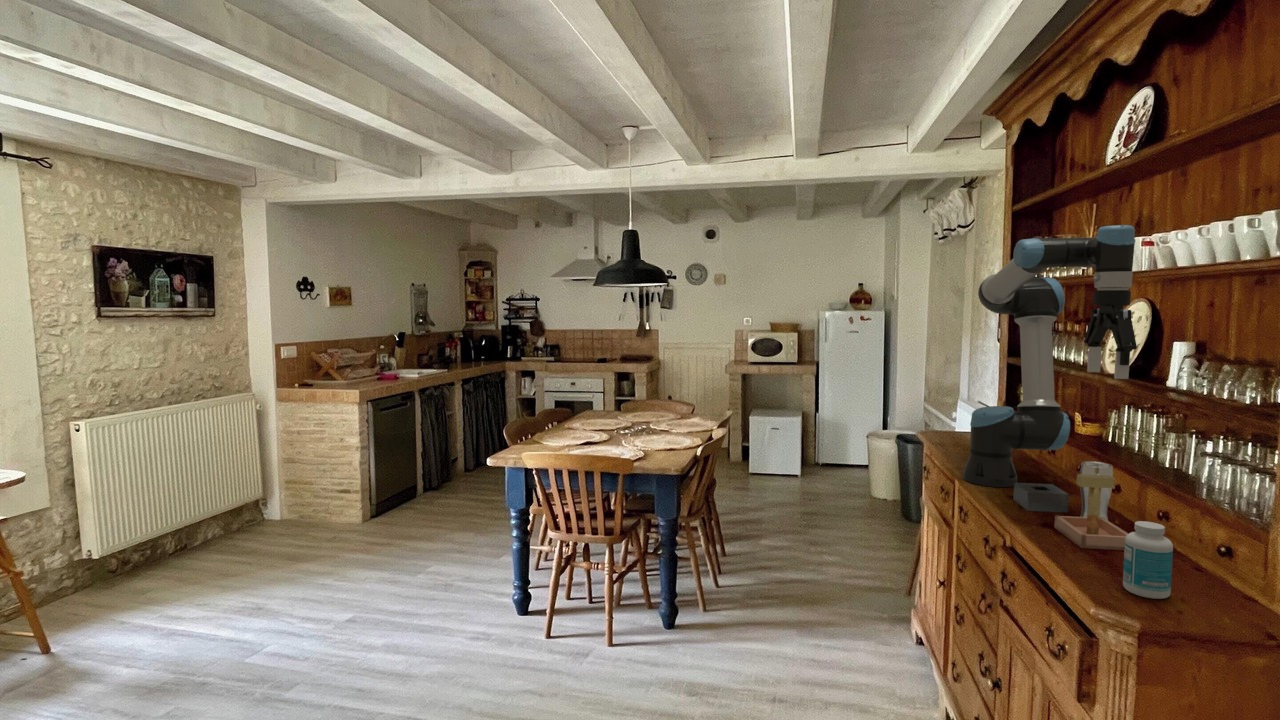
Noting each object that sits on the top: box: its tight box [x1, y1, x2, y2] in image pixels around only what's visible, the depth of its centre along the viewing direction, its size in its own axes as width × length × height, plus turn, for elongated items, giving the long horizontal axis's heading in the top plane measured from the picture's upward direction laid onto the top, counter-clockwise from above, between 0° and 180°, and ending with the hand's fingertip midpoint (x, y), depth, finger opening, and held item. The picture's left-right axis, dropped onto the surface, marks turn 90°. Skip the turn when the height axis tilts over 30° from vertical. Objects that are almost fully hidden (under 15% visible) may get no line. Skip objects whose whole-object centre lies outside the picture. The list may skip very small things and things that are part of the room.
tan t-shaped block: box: [1076, 473, 1116, 535], centre depth 156 cm, size 7×2×14 cm, turn 80°
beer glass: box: [1079, 460, 1114, 521], centre depth 168 cm, size 7×7×15 cm
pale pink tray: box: [1054, 515, 1129, 551], centre depth 157 cm, size 14×11×3 cm
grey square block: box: [1012, 482, 1070, 514], centre depth 182 cm, size 10×10×5 cm
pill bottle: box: [1122, 520, 1174, 600], centre depth 128 cm, size 8×7×14 cm
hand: (1106, 375), depth 164 cm, fingers open, 13 cm apart
